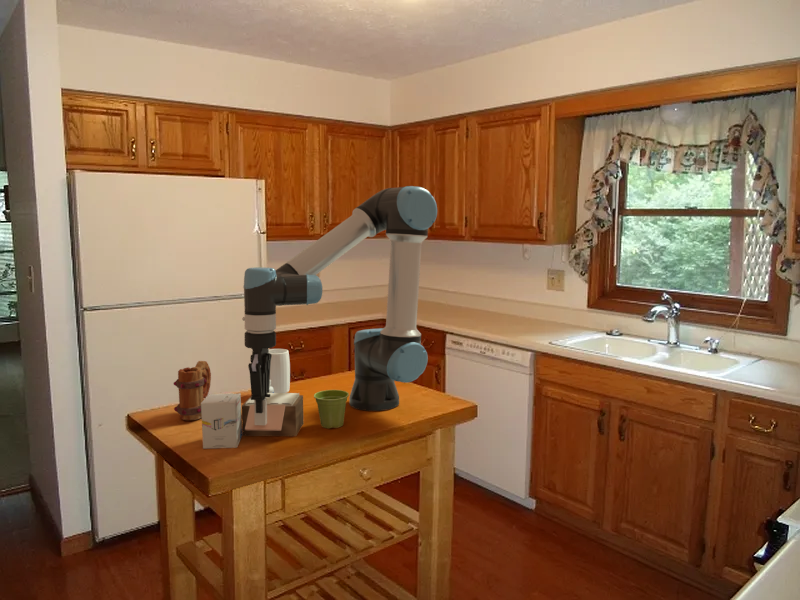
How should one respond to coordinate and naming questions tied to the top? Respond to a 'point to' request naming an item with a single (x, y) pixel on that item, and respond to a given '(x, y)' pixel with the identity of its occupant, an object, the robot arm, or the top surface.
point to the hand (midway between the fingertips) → (260, 424)
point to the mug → (192, 390)
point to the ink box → (221, 420)
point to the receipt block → (290, 420)
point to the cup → (280, 370)
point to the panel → (273, 419)
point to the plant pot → (331, 407)
